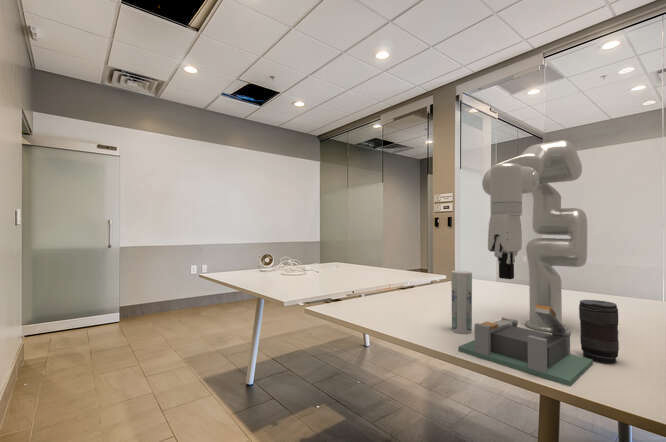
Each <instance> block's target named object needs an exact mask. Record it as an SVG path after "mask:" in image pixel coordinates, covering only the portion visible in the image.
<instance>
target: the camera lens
mask: <svg viewBox="0 0 666 442" xmlns="http://www.w3.org/2000/svg"><path fill="white" fill-rule="evenodd" d="M578 311H579V312H578V313H579V314H578V317H579V322H580V328H579V329H580V336H579V337H580V338H579V340H580V347H581V351H582V354H583V355H582V356H583V357H584V358H588V359H592V360H593V362H596V363H601V364H607V365H608V364H609V365H610V364H611V365H613V364H616V362H617V358H618V357H619V350H620V348H619V346H620V345H619V327H618V326H619V308H618V305H617V303H615V302H610V301H605V300H596V299H581V300H579V305H578Z"/></svg>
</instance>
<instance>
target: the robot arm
mask: <svg viewBox="0 0 666 442" xmlns="http://www.w3.org/2000/svg"><path fill="white" fill-rule="evenodd" d="M582 172H583V165H582V162H581V159H580V156H579V153H578V152H577V149H576V148H575V146H574V145H573V144H572V143H571V142H570V141H569V140H565V139H560V140H555V141H554V140H553V141H550V142H549V141H548V142H542V143H537V144H532V145H529V147H527V148H525V149H524V150H523V151H522V153H520V154H519V155H518V156H515V157H512V158H510V159H508V160H504V161H501V162H499V163H497V164H495V165H493V166H491V167H490V168H489V169H488V170H487V171H486V172H485V173H484V175H483V177H482V182H481V183H482V184H481V186H482V190H483V191H484V193H485V194H487V195H488V196H490V204H489V205H490V206H489V207H490V217H489V221H488V222H489V223H488V233H487V235H488V237H487V250H488V251H489V252H493V253H494V254H493V256H494V257H495V258H497V263H498V279H504V280H514V279H515V262H516V261H515V260H516V257H517V256H518V252H520V251H521V250H522V249H523V248H522V247H523V237H522V236H523V235H522V232H523V231H522V223H521V222H522V221H521V216H523V194H524V195H525V194H532V195H531V196H532V197H533V198H532V199H533V202H532V203H533V204H532V206H533V207H532V230H533V232H534V233H536V234H537V235H541V236H568V237H570V238H555V237H554V238H553V237H551V238H549V237H548V238H547V237H540V238H539V237H537V238H533V239H531V240H528V242H527V244H526V247H525V252H526V258H527V263H528V273H529V274H528V275H529V276H528V277H529V319H526V320H524V325H525V326H526V327H527V328H530V329H531V330H532V329H533V330H535V331H539V332H545V333H551V329H550V328H549V327H548V326H547V325H546V324H545V322H544V321H543V320H542V319H541V318H540V317H539V316H538V315H537V313H536V312H535V306H536V305H541V306H547V307H551V308H552V309H553V311H554V312H555V313H556V319H557V320H558V321H559V322H560V324H561V325H562V326H563V327H564V328H565V330H566V331H568V326H567V325H565V324H563V310H562V309H563V308H562V305H563V304H562V296H563V295H562V279H561V276H560V274H559V272H557V270H556V269H555V268H554V267H569V268H580V267H583V266H585V265H586V262H587V260H588V217H587V215H586V213H585V211H584V210H582V209H581V208H576V207H570V208H569V207H567V208H564V207H562V196H561V194H560V192H559V191H558V190H557V188H555V187H553V186H552V185H550V184H551V183H564V182H565V183H566V182H573V181H576V180H578V179H579V178H580V177H581V175H582Z"/></svg>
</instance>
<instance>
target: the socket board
mask: <svg viewBox="0 0 666 442" xmlns="http://www.w3.org/2000/svg"><path fill="white" fill-rule="evenodd" d="M502 319H503V320H507V321H512V322H513V325H512V326H509V327H507V328H504V329H501V330H499V331H496V332H493V333H491V328H490V326H488V325H483V324H480V323H479V322H476V323H474V339H473V340H471V341H468V342H466V343H465V344H462V345H459V346H458V347H457V349H458V352H461V353H463V354H466V355H470V356H473V357H476V358H480V359H483V360H486V361H489V362H492V363H495V364H499V365H501V366H505V367H508V368H510V369H514V370H517V371H520V372H523V373H527V374H529V375H533V376H536V377H538V378H543V379H545V380H549V381H553V382H556V383H559V384H561V385H564V386H568V387H571V386H572V385H573V384H574V383H575V382H576V381H578V379H579V378H580V377H581V376H583V374H585V373H586V372H587V371H588V370H589V369H590V368H591V367H592V366H593V365H594V361H593V360H592V359H588V358H586V357H584V356H579V355H575V354H572V353H571V331H569V330H567V331H566V334H562V333H557V332H553V331H552V330H551V332H550V333H548V332H544V331H539V330H535V329H533V330H532V329H529V328H523V327H518V320H516V319H513V318H512V319H511V318H507V317H502V318H501V320H502Z"/></svg>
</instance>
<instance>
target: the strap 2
mask: <svg viewBox="0 0 666 442" xmlns="http://www.w3.org/2000/svg"><path fill="white" fill-rule="evenodd" d="M535 312H536V313H537V315H538V316H539V317H540V318H541V319H542V320H543V321H544V322H545V324H546V325H547V326H548V327H549V328H550V329H551V330H552V331H553V332H557V333H562V334H566V330H565V328H564V327H563V326H562V325H561V324H560V322H559V321H558V320H557V319H556V313H555V312H554V311H553V309H552V308H551V307H547V306H541V305H536V306H535Z"/></svg>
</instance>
